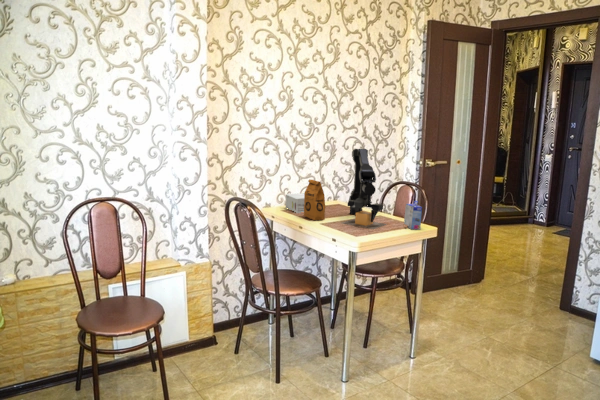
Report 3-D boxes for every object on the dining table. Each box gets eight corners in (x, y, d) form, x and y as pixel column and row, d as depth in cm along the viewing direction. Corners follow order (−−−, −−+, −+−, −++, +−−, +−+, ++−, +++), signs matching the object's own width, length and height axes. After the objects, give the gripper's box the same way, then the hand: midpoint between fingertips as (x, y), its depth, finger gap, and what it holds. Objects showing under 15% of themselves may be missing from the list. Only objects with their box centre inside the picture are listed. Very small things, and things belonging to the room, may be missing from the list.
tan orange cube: (355, 223, 240) (355, 212, 239) (361, 221, 245) (362, 210, 244) (366, 225, 235) (367, 214, 234) (372, 223, 241) (373, 212, 240)
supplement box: (285, 208, 283) (285, 193, 282) (303, 207, 289) (304, 193, 287) (296, 213, 268) (296, 198, 267) (315, 212, 274) (316, 197, 272)
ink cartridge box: (421, 229, 235) (423, 202, 233) (411, 229, 234) (413, 202, 232) (412, 225, 245) (414, 199, 243) (403, 225, 244) (405, 199, 241)
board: (340, 225, 240) (340, 223, 240) (355, 220, 253) (355, 218, 252) (373, 231, 228) (373, 229, 228) (387, 226, 241) (387, 224, 241)
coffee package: (312, 221, 247) (313, 182, 244) (301, 217, 258) (302, 179, 254) (327, 220, 252) (328, 181, 248) (316, 215, 263) (317, 178, 259)
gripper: (342, 191, 237) (341, 220, 239) (374, 196, 225) (372, 226, 228) (353, 189, 245) (352, 217, 248) (384, 193, 234) (382, 222, 237)
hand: (364, 220), depth 240 cm, fingers open, 9 cm apart
